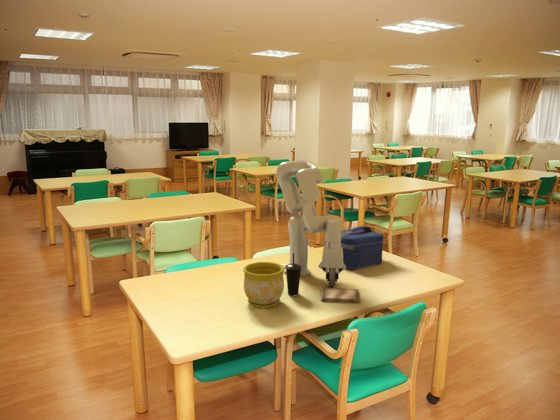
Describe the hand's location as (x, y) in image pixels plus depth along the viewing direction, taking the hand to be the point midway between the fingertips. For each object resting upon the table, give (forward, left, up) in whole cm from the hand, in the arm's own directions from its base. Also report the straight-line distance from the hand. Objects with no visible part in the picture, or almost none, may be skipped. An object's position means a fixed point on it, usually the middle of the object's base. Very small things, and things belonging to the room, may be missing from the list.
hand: (332, 280), depth 216 cm
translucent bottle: (0, 0, -3) cm, 3 cm away
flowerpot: (-30, -24, -4) cm, 39 cm away
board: (+4, -12, -3) cm, 13 cm away
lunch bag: (+14, +40, -4) cm, 43 cm away
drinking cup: (-18, -12, -3) cm, 22 cm away
